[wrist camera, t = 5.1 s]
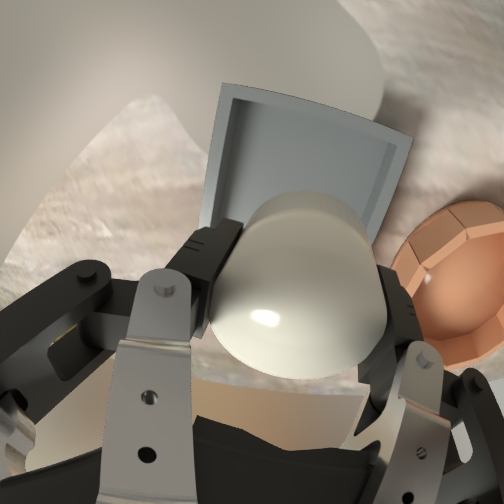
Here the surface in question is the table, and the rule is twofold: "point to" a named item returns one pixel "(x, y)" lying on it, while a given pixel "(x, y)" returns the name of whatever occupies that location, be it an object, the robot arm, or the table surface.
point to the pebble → (300, 289)
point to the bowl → (457, 280)
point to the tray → (297, 156)
